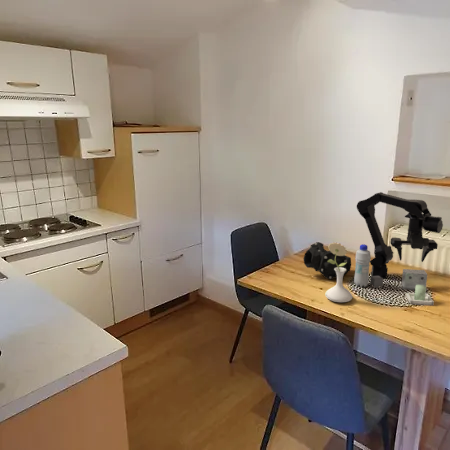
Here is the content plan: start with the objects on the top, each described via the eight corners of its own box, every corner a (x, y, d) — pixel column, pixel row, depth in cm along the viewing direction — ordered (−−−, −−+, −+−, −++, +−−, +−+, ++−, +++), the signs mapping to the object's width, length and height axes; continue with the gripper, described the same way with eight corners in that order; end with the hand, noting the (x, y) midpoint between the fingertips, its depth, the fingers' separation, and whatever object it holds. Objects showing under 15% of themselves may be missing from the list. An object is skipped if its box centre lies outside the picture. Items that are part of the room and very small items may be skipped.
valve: (329, 240, 216) (360, 256, 187) (322, 265, 218) (351, 284, 190) (294, 233, 210) (320, 248, 181) (287, 259, 212) (312, 278, 184)
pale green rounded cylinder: (415, 301, 164) (417, 288, 163) (412, 297, 168) (414, 284, 166) (425, 301, 163) (427, 288, 162) (422, 297, 167) (424, 284, 166)
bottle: (361, 289, 178) (364, 247, 173) (350, 284, 184) (353, 243, 179) (371, 286, 181) (375, 245, 176) (360, 281, 187) (363, 241, 182)
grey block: (374, 287, 180) (374, 279, 179) (370, 284, 184) (370, 276, 183) (382, 287, 180) (383, 279, 179) (378, 283, 184) (379, 275, 183)
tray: (410, 304, 163) (410, 300, 162) (405, 295, 170) (405, 292, 170) (433, 305, 161) (433, 302, 161) (427, 297, 169) (428, 293, 168)
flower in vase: (358, 300, 167) (362, 245, 161) (339, 307, 161) (343, 250, 155) (334, 290, 178) (337, 237, 171) (316, 296, 172) (319, 242, 166)
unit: (402, 289, 177) (404, 273, 175) (399, 284, 182) (401, 268, 180) (427, 291, 175) (429, 274, 173) (423, 286, 180) (425, 269, 178)
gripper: (396, 232, 169) (392, 265, 173) (443, 234, 165) (438, 269, 169) (391, 225, 180) (388, 257, 184) (436, 227, 176) (431, 260, 180)
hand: (411, 260), depth 179 cm, fingers open, 9 cm apart
